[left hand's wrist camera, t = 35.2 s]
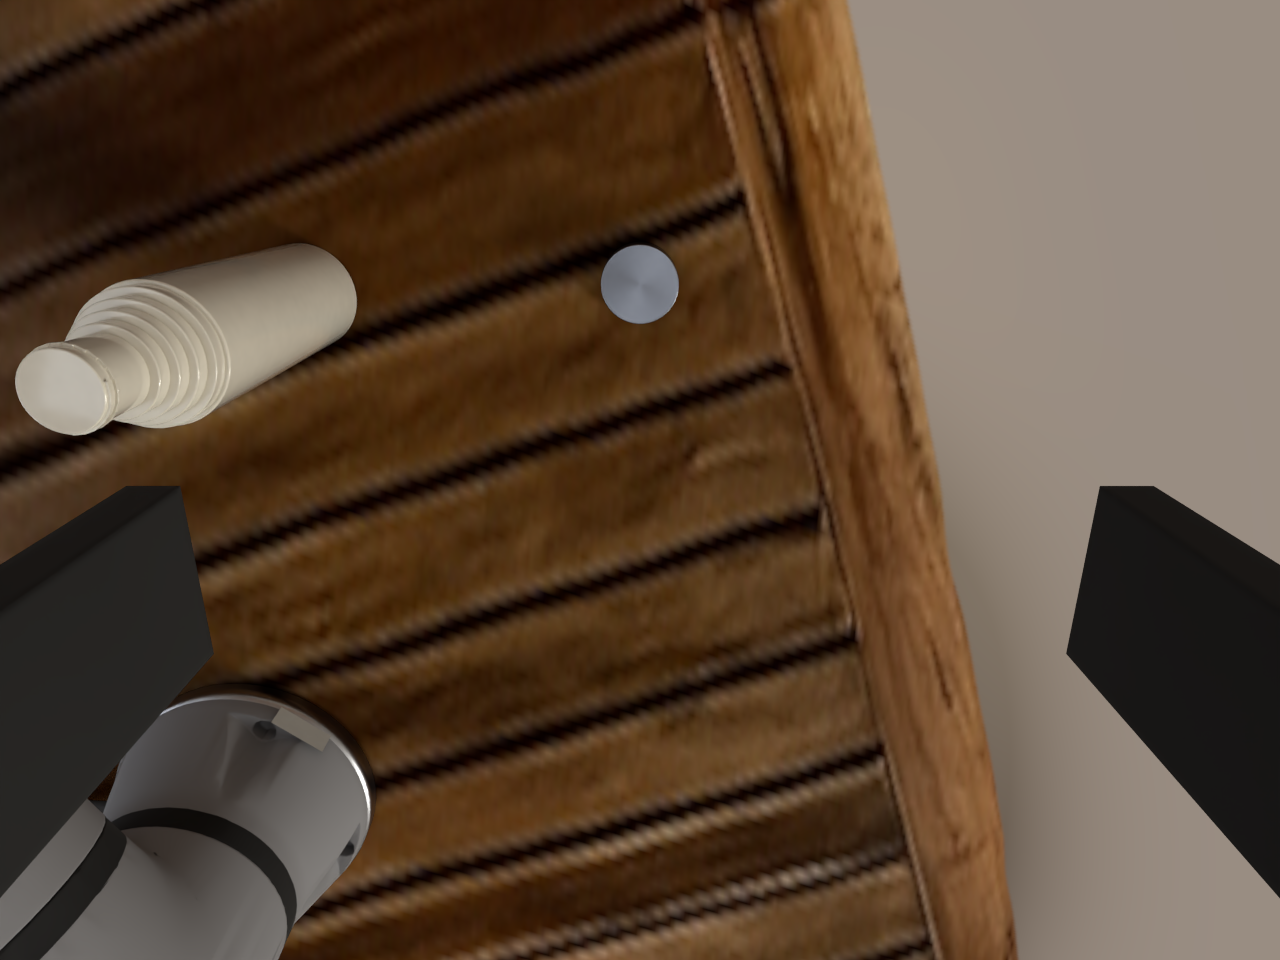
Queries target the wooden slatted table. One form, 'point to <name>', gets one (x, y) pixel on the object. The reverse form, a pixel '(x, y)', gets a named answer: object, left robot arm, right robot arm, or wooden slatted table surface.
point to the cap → (639, 283)
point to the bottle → (187, 340)
